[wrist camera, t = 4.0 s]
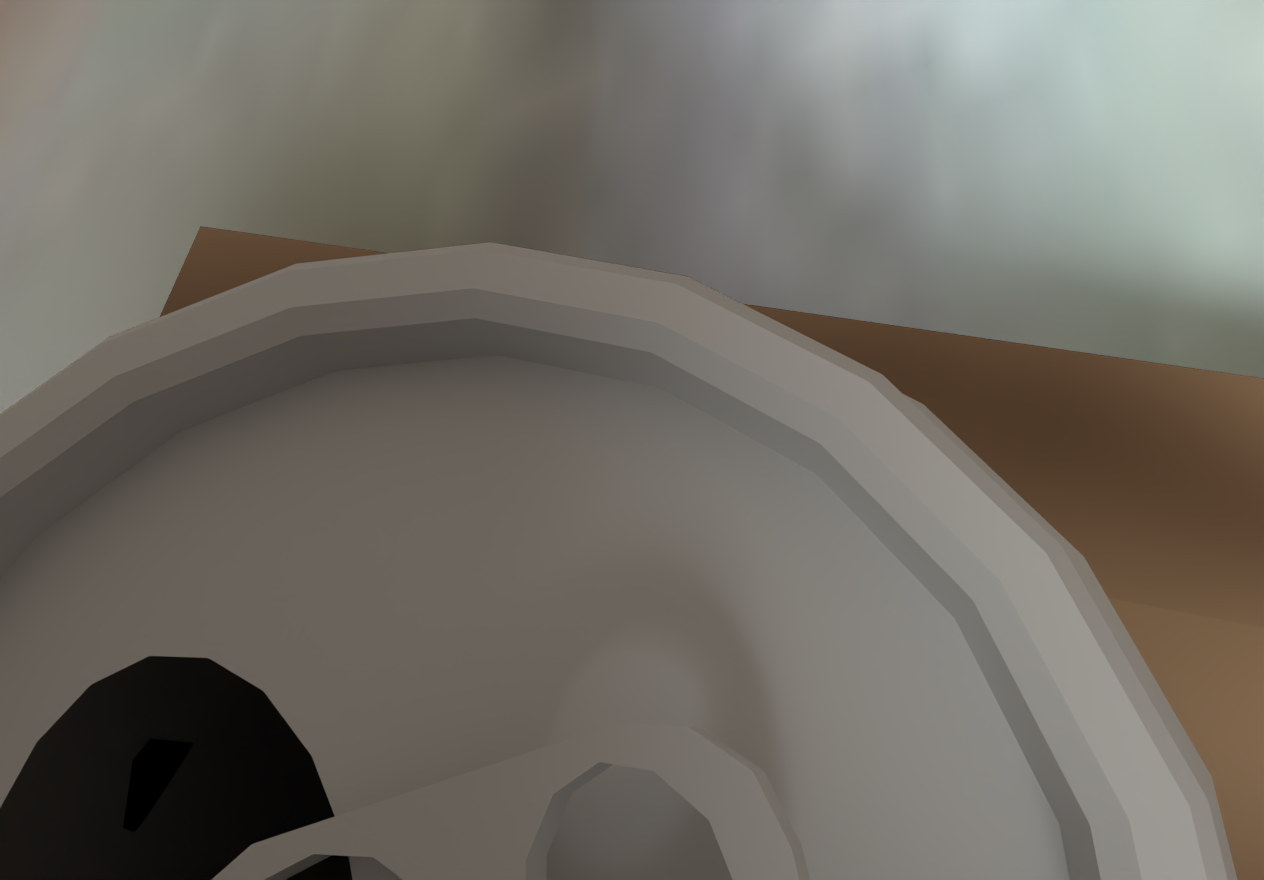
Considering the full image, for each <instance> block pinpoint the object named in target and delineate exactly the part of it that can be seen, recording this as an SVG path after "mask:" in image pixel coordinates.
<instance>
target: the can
mask: <svg viewBox="0 0 1264 880" xmlns="http://www.w3.org/2000/svg"><path fill="white" fill-rule="evenodd" d="M150 739H159V740H169V741H179V742H189V743H194V744H193V746H192V747H191V749H190V751H189V752H188V754H187V756H186V757H185V759H184V761H183V762H182V764H181V766H180V767H179V769H178V771H177V772H176V774H175V775H174V777H173V778H172V780H171V781H170V783H169V785H168V786H167V788H166V789H165V791H164V792H163V794H162V795H161V797H160V798H159V800H158V801H157V802H156V804H155V805H154V807H153V808H152V810H151V811H150V812H149V814H148V815H147V817H146V818H145V820H144V821H143V822H142V824H141V825H140V826H139V827H138V829H137V830H136V831H134V832H133V831H130V830H127V829H125V828H123V824H124V817H125V811H126V804H127V797H128V790H129V783H130V776H131V769H132V762H133V759H134V758H135V757H136V756H137V754H138V753H139V752H140V751H141V749H142V748H143V747H144V746H145V745H146V743H147V742H148V741H149V740H150ZM0 880H1237V876H1236V872H1235V868H1234V864H1233V860H1232V856H1231V852H1230V848H1229V844H1228V840H1227V836H1226V832H1225V828H1224V824H1223V820H1222V816H1221V812H1220V808H1219V804H1218V800H1217V796H1216V791H1215V787H1214V783H1213V779H1212V776H1211V774H1210V773H1209V771H1208V769H1207V768H1206V766H1205V764H1204V762H1203V761H1202V759H1201V757H1200V756H1199V754H1198V752H1197V750H1196V749H1195V747H1194V745H1193V744H1192V742H1191V740H1190V738H1189V737H1188V735H1187V733H1186V731H1185V730H1184V728H1183V726H1182V725H1181V723H1180V721H1179V719H1178V718H1177V716H1176V714H1175V713H1174V711H1173V709H1172V707H1171V706H1170V704H1169V702H1168V700H1167V699H1166V697H1165V695H1164V694H1163V692H1162V690H1161V688H1160V687H1159V685H1158V683H1157V682H1156V680H1155V678H1154V676H1153V675H1152V673H1151V671H1150V670H1149V668H1148V666H1147V664H1146V663H1145V661H1144V659H1143V657H1142V656H1141V654H1140V652H1139V651H1138V649H1137V647H1136V645H1135V644H1134V642H1133V640H1132V639H1131V637H1130V635H1129V633H1128V632H1127V630H1126V628H1125V627H1124V625H1123V623H1122V621H1121V620H1120V618H1119V616H1118V614H1117V613H1116V611H1115V609H1114V608H1113V606H1112V604H1111V602H1110V601H1109V599H1108V597H1107V596H1106V594H1105V592H1104V590H1103V589H1102V587H1101V585H1100V584H1099V582H1098V580H1097V578H1096V577H1095V575H1094V573H1093V571H1092V570H1091V568H1090V566H1089V565H1088V563H1087V561H1086V559H1085V558H1084V556H1083V555H1082V554H1081V553H1080V552H1079V551H1077V550H1076V549H1075V548H1074V547H1073V546H1072V545H1071V544H1070V543H1069V542H1068V541H1067V540H1066V539H1065V538H1064V537H1063V536H1062V535H1061V534H1060V533H1058V532H1057V531H1056V530H1055V529H1054V528H1053V527H1052V526H1051V525H1050V524H1049V523H1048V522H1047V521H1046V520H1045V519H1044V518H1043V517H1042V516H1041V515H1040V514H1038V513H1037V512H1036V511H1035V510H1034V509H1033V508H1032V507H1031V506H1030V505H1029V504H1028V503H1027V502H1026V501H1025V500H1024V499H1023V498H1022V497H1021V496H1020V495H1018V494H1017V493H1016V492H1015V491H1014V490H1013V489H1012V488H1011V487H1010V486H1009V485H1008V484H1007V483H1006V482H1005V481H1004V480H1003V479H1002V478H1001V477H999V476H998V475H997V474H996V473H995V472H994V471H993V470H992V469H991V468H990V467H989V466H988V465H987V464H986V463H985V462H984V461H983V460H982V459H981V458H979V457H978V456H977V455H976V454H975V453H974V452H973V451H972V450H971V449H970V448H969V447H968V446H967V445H966V444H965V443H964V442H963V441H962V440H961V439H959V438H958V437H957V436H956V435H955V434H954V433H953V432H952V431H951V430H950V429H949V428H948V427H947V426H946V425H945V424H944V423H943V422H942V421H940V420H939V419H938V418H937V417H936V416H935V415H934V414H933V413H932V412H931V411H930V410H929V409H928V408H927V407H926V406H925V405H924V404H922V403H920V402H918V401H916V400H914V399H912V398H910V397H908V396H906V395H904V394H902V393H901V392H900V391H899V390H898V389H897V388H896V387H895V386H894V385H893V384H892V383H891V382H890V381H889V380H888V379H887V378H885V377H884V376H883V375H882V374H880V373H878V372H876V371H874V370H872V369H870V368H868V367H866V366H864V365H862V364H860V363H858V362H857V361H855V360H853V359H851V358H849V357H847V356H845V355H843V354H841V353H839V352H837V351H835V350H833V349H831V348H829V347H827V346H825V345H823V344H821V343H819V342H817V341H815V340H813V339H811V338H809V337H807V336H805V335H803V334H801V333H799V332H797V331H795V330H793V329H791V328H789V327H787V326H785V325H783V324H781V323H779V322H777V321H775V320H773V319H771V318H769V317H767V316H765V315H763V314H761V313H759V312H757V311H755V310H753V309H751V308H749V307H747V306H745V305H743V304H741V303H740V302H738V301H736V300H734V299H732V298H730V297H728V296H726V295H724V294H722V293H720V292H718V291H716V290H714V289H712V288H710V287H708V286H706V285H704V284H702V283H700V282H698V281H696V280H694V279H692V278H690V277H688V276H682V275H676V274H670V273H665V272H659V271H653V270H647V269H642V268H636V267H630V266H624V265H619V264H613V263H607V262H602V261H596V260H590V259H584V258H579V257H573V256H567V255H561V254H556V253H550V252H544V251H538V250H533V249H527V248H521V247H515V246H510V245H504V244H498V243H492V242H487V243H478V244H469V245H460V246H451V247H442V248H433V249H424V250H415V251H406V252H397V253H388V254H379V255H370V256H361V257H352V258H343V259H334V260H325V261H316V262H307V263H298V264H294V265H291V266H289V267H286V268H284V269H281V270H279V271H276V272H274V273H271V274H268V275H266V276H263V277H261V278H258V279H256V280H253V281H251V282H248V283H246V284H243V285H240V286H238V287H235V288H233V289H230V290H228V291H225V292H223V293H220V294H218V295H215V296H212V297H210V298H207V299H205V300H202V301H200V302H197V303H195V304H192V305H189V306H187V307H184V308H182V309H179V310H177V311H174V312H172V313H169V314H167V315H164V316H161V317H159V318H156V319H154V320H151V321H149V322H146V323H144V324H141V325H138V326H136V327H133V328H131V329H128V330H126V331H123V332H121V333H118V334H116V335H113V336H110V337H109V338H107V339H106V340H104V341H103V342H101V343H100V344H99V345H97V346H96V347H94V348H93V349H92V350H90V351H89V352H87V353H86V354H85V355H83V356H82V357H80V358H79V359H77V360H76V361H75V362H73V363H72V364H70V365H69V366H68V367H66V368H65V369H63V370H62V371H60V372H59V373H58V374H56V375H55V376H53V377H52V378H51V379H49V380H48V381H46V382H45V383H44V384H42V385H41V386H39V387H38V388H36V389H35V390H34V391H32V392H31V393H29V394H28V395H27V396H25V397H24V398H22V399H21V400H19V401H18V402H17V403H15V404H14V405H12V406H11V407H10V408H8V409H7V410H5V411H4V412H3V413H1V414H0Z"/></svg>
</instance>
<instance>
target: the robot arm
mask: <svg viewBox="0 0 1264 880" xmlns="http://www.w3.org/2000/svg"><path fill="white" fill-rule="evenodd" d="M193 744H194V743H189V742H179V741H169V740H159V739H150V740H149V741H148V742H147V743H146V745H145V746H144V747H143V748H142V749H141V751H140V752H139V753H138V754H137V756H136V757H135V758H134V759H133V762H132V769H131V776H130V783H129V790H128V797H127V804H126V811H125V817H124V824H123V828H125V829H127V830H130V831H133V832H134V831H136V830H137V829H138V827H139V826H140V825H141V824H142V822H143V821H144V820H145V818H146V817H147V815H148V814H149V812H150V811H151V810H152V808H153V807H154V805H155V804H156V802H157V801H158V800H159V798H160V797H161V795H162V794H163V792H164V791H165V789H166V788H167V786H168V785H169V783H170V781H171V780H172V778H173V777H174V775H175V774H176V772H177V771H178V769H179V767H180V766H181V764H182V762H183V761H184V759H185V757H186V756H187V754H188V752H189V751H190V749H191V747H192V746H193Z"/></svg>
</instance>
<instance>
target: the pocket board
mask: <svg viewBox="0 0 1264 880" xmlns="http://www.w3.org/2000/svg"><path fill="white" fill-rule="evenodd" d="M379 254H388V253H384V252H377V251H370V250H363V249H356V248H349V247H342V246H335V245H328V244H321V243H314V242H307V241H300V240H293V239H286V238H279V237H272V236H265V235H258V234H251V233H244V232H237V231H230V230H223V229H216V228H209V227H202V226H201V227H200V229H199V231H198V234H197V236H196V238H195V240H194V242H193V245H192V247H191V249H190V251H189V253H188V256H187V258H186V260H185V262H184V264H183V267H182V269H181V271H180V273H179V276H178V278H177V280H176V282H175V284H174V287H173V289H172V291H171V293H170V295H169V298H168V300H167V302H166V304H165V306H164V309H163V311H162V313H161V315H160V317H161V316H164V315H167V314H169V313H172V312H174V311H177V310H179V309H182V308H184V307H187V306H189V305H192V304H195V303H197V302H200V301H202V300H205V299H207V298H210V297H212V296H215V295H218V294H220V293H223V292H225V291H228V290H230V289H233V288H235V287H238V286H240V285H243V284H246V283H248V282H251V281H253V280H256V279H258V278H261V277H263V276H266V275H268V274H271V273H274V272H276V271H279V270H281V269H284V268H286V267H289V266H291V265H294V264H298V263H307V262H316V261H325V260H334V259H343V258H352V257H361V256H370V255H379ZM743 305H745V306H747V307H749V308H751V309H753V310H755V311H757V312H759V313H761V314H763V315H765V316H767V317H769V318H771V319H773V320H775V321H777V322H779V323H781V324H783V325H785V326H787V327H789V328H791V329H793V330H795V331H797V332H799V333H801V334H803V335H805V336H807V337H809V338H811V339H813V340H815V341H817V342H819V343H821V344H823V345H825V346H827V347H829V348H831V349H833V350H835V351H837V352H839V353H841V354H843V355H845V356H847V357H849V358H851V359H853V360H855V361H857V362H858V363H860V364H862V365H864V366H866V367H868V368H870V369H872V370H874V371H876V372H878V373H880V374H882V375H883V376H884V377H885V378H887V379H888V380H889V381H890V382H891V383H892V384H893V385H894V386H895V387H896V388H897V389H898V390H899V391H900V392H901V393H902V394H904V395H906V396H908V397H910V398H912V399H914V400H916V401H918V402H920V403H922V404H924V405H925V406H926V407H927V408H928V409H929V410H930V411H931V412H932V413H933V414H934V415H935V416H936V417H937V418H938V419H939V420H940V421H942V422H943V423H944V424H945V425H946V426H947V427H948V428H949V429H950V430H951V431H952V432H953V433H954V434H955V435H956V436H957V437H958V438H959V439H961V440H962V441H963V442H964V443H965V444H966V445H967V446H968V447H969V448H970V449H971V450H972V451H973V452H974V453H975V454H976V455H977V456H978V457H979V458H981V459H982V460H983V461H984V462H985V463H986V464H987V465H988V466H989V467H990V468H991V469H992V470H993V471H994V472H995V473H996V474H997V475H998V476H999V477H1001V478H1002V479H1003V480H1004V481H1005V482H1006V483H1007V484H1008V485H1009V486H1010V487H1011V488H1012V489H1013V490H1014V491H1015V492H1016V493H1017V494H1018V495H1020V496H1021V497H1022V498H1023V499H1024V500H1025V501H1026V502H1027V503H1028V504H1029V505H1030V506H1031V507H1032V508H1033V509H1034V510H1035V511H1036V512H1037V513H1038V514H1040V515H1041V516H1042V517H1043V518H1044V519H1045V520H1046V521H1047V522H1048V523H1049V524H1050V525H1051V526H1052V527H1053V528H1054V529H1055V530H1056V531H1057V532H1058V533H1060V534H1061V535H1062V536H1063V537H1064V538H1065V539H1066V540H1067V541H1068V542H1069V543H1070V544H1071V545H1072V546H1073V547H1074V548H1075V549H1076V550H1077V551H1079V552H1080V553H1081V554H1082V555H1083V556H1084V558H1085V559H1086V561H1087V563H1088V565H1089V566H1090V568H1091V570H1092V571H1093V573H1094V575H1095V577H1096V578H1097V580H1098V582H1099V584H1100V585H1101V587H1102V589H1103V590H1104V592H1105V594H1106V596H1107V597H1108V599H1109V601H1110V602H1111V604H1112V606H1113V608H1114V609H1115V611H1116V613H1117V614H1118V616H1119V618H1120V620H1121V621H1122V623H1123V625H1124V627H1125V628H1126V630H1127V632H1128V633H1129V635H1130V637H1131V639H1132V640H1133V642H1134V644H1135V645H1136V647H1137V649H1138V651H1139V652H1140V654H1141V656H1142V657H1143V659H1144V661H1145V663H1146V664H1147V666H1148V668H1149V670H1150V671H1151V673H1152V675H1153V676H1154V678H1155V680H1156V682H1157V683H1158V685H1159V687H1160V688H1161V690H1162V692H1163V694H1164V695H1165V697H1166V699H1167V700H1168V702H1169V704H1170V706H1171V707H1172V709H1173V711H1174V713H1175V714H1176V716H1177V718H1178V719H1179V721H1180V723H1181V725H1182V726H1183V728H1184V730H1185V731H1186V733H1187V735H1188V737H1189V738H1190V740H1191V742H1192V744H1193V745H1194V747H1195V749H1196V750H1197V752H1198V754H1199V756H1200V757H1201V759H1202V761H1203V762H1204V764H1205V766H1206V768H1207V769H1208V771H1209V773H1210V774H1211V776H1212V779H1213V783H1214V787H1215V791H1216V796H1217V800H1218V804H1219V808H1220V812H1221V816H1222V820H1223V824H1224V828H1225V832H1226V836H1227V840H1228V844H1229V848H1230V852H1231V856H1232V860H1233V864H1234V868H1235V872H1236V876H1237V880H1264V378H1257V377H1250V376H1243V375H1236V374H1229V373H1222V372H1215V371H1208V370H1201V369H1194V368H1187V367H1180V366H1173V365H1166V364H1159V363H1152V362H1146V361H1139V360H1132V359H1125V358H1118V357H1111V356H1104V355H1097V354H1090V353H1083V352H1076V351H1069V350H1062V349H1055V348H1048V347H1041V346H1034V345H1027V344H1020V343H1013V342H1006V341H999V340H992V339H985V338H978V337H971V336H964V335H957V334H950V333H943V332H936V331H929V330H922V329H915V328H908V327H901V326H894V325H887V324H880V323H873V322H866V321H859V320H852V319H845V318H838V317H831V316H824V315H817V314H810V313H803V312H796V311H789V310H782V309H775V308H768V307H761V306H754V305H747V304H743Z"/></svg>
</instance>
